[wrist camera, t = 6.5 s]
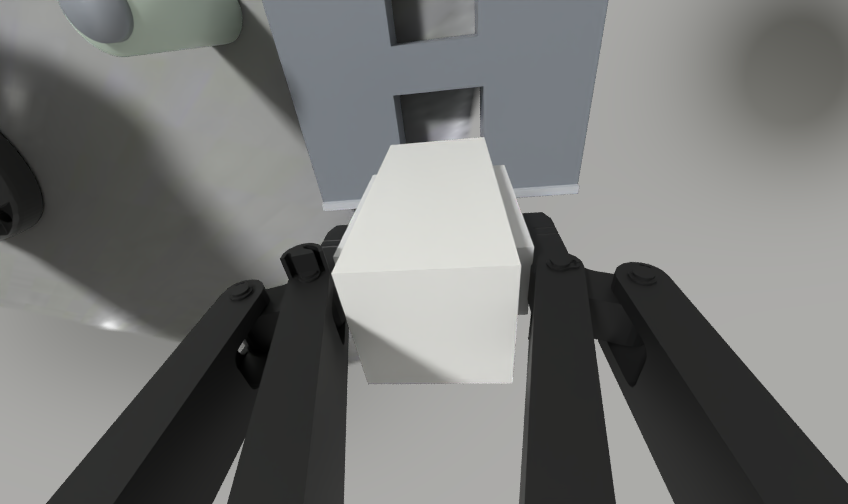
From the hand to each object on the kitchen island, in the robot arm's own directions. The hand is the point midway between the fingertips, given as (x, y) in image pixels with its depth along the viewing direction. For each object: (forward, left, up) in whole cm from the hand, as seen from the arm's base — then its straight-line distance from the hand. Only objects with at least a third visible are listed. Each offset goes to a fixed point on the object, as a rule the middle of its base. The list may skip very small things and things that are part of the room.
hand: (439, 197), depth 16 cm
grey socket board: (0, +4, -13) cm, 13 cm away
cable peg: (-15, +9, -13) cm, 22 cm away
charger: (0, 0, -2) cm, 2 cm away
